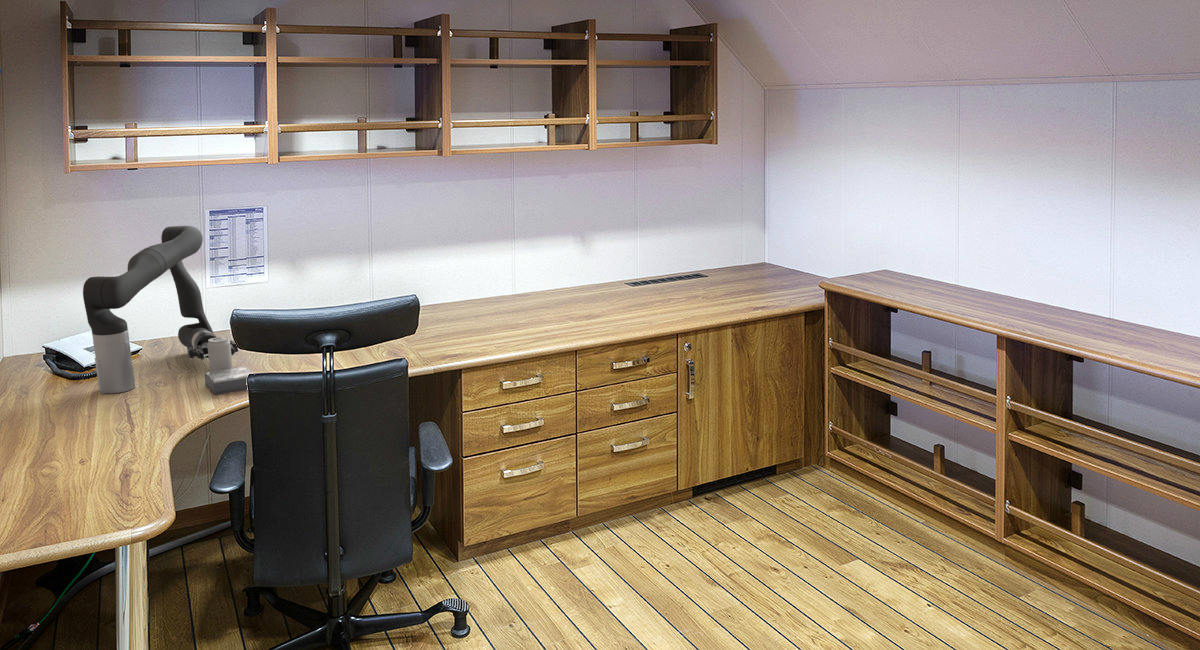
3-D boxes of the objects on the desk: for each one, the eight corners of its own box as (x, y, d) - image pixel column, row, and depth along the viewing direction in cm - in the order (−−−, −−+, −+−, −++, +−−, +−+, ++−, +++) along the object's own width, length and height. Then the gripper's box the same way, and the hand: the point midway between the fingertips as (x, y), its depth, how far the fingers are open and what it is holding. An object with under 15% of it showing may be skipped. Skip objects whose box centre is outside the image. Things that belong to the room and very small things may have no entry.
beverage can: (226, 373, 292) (222, 335, 289) (237, 376, 288) (233, 338, 285) (206, 378, 287) (202, 339, 284) (218, 381, 283) (213, 342, 280)
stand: (214, 395, 269) (212, 381, 269) (205, 385, 279) (204, 372, 278) (257, 388, 276) (256, 374, 275) (247, 378, 286) (246, 365, 285)
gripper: (180, 335, 297) (191, 345, 284) (228, 329, 305) (240, 338, 291) (183, 358, 299) (194, 369, 286) (230, 351, 306) (243, 362, 293)
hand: (217, 354), depth 289 cm, fingers open, 8 cm apart
